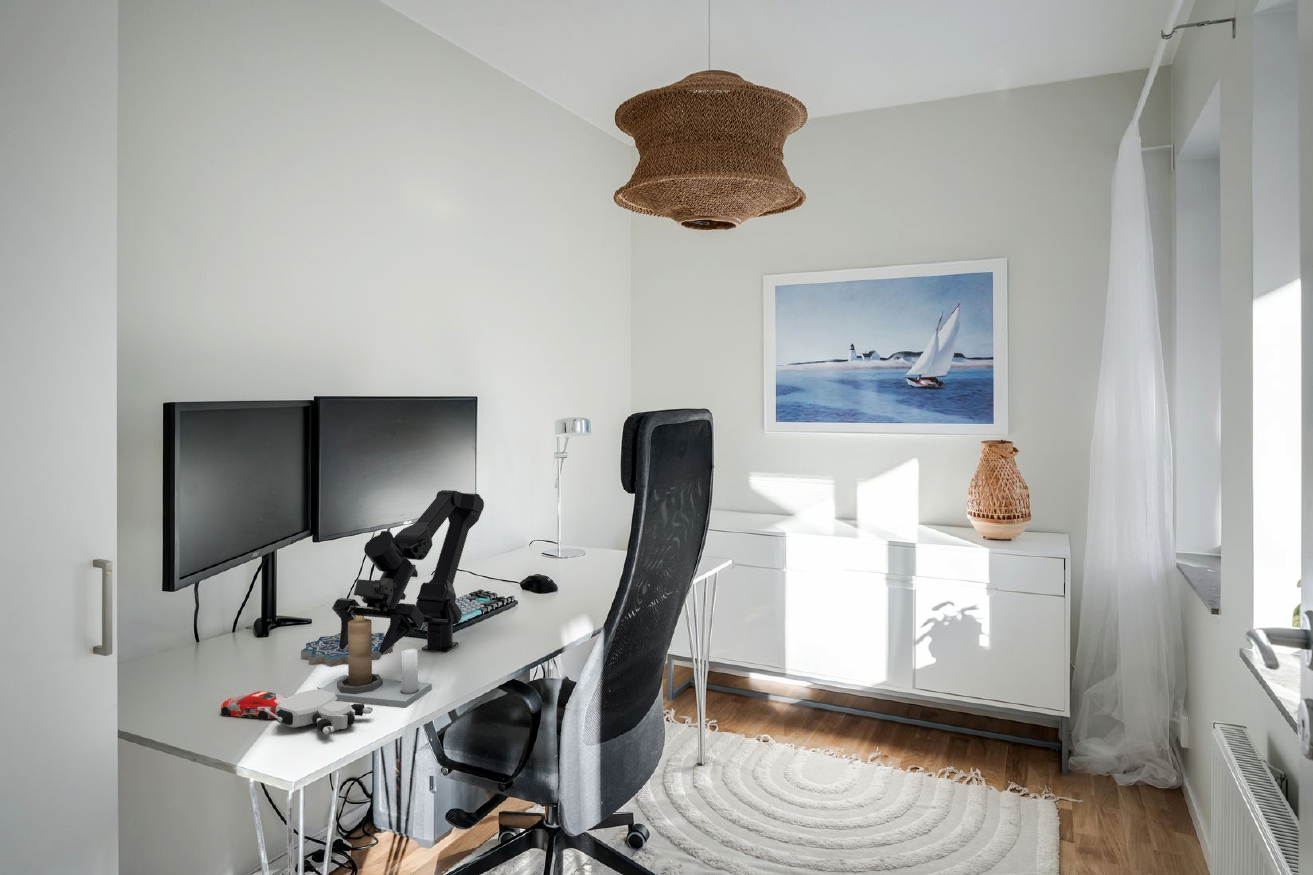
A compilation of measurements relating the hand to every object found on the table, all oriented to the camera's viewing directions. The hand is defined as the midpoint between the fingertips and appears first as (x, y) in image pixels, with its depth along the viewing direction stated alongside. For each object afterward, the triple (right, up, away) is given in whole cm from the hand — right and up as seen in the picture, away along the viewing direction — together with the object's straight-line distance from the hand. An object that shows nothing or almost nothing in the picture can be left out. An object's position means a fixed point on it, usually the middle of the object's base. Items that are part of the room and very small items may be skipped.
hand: (360, 650), depth 156 cm
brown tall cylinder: (0, -7, 0) cm, 7 cm away
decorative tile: (-12, -8, +25) cm, 29 cm away
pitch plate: (+3, -8, -1) cm, 9 cm away
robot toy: (-1, -9, -16) cm, 18 cm away
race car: (-16, -9, -11) cm, 21 cm away
